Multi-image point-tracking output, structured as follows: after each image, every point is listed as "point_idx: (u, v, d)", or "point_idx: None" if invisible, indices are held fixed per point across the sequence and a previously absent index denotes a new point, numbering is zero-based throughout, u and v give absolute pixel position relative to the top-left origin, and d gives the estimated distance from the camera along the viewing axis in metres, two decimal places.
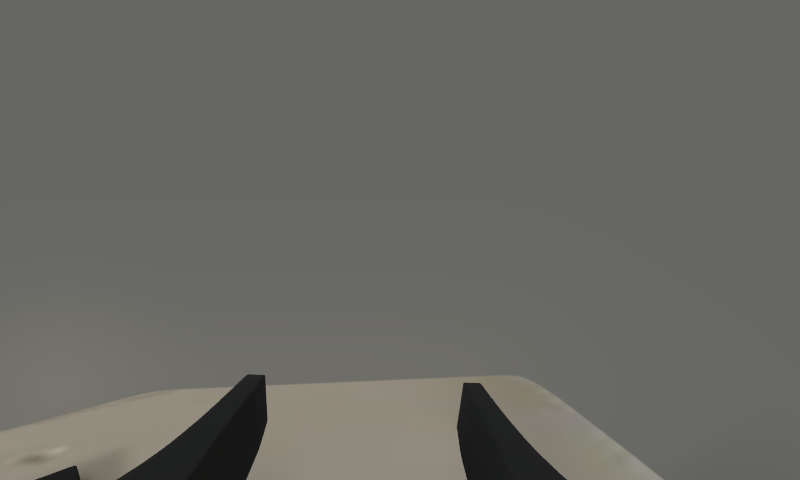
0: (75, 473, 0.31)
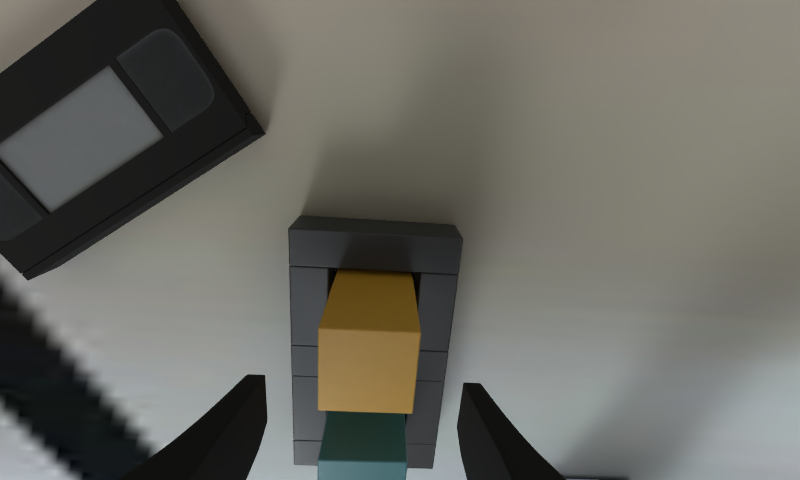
0: None
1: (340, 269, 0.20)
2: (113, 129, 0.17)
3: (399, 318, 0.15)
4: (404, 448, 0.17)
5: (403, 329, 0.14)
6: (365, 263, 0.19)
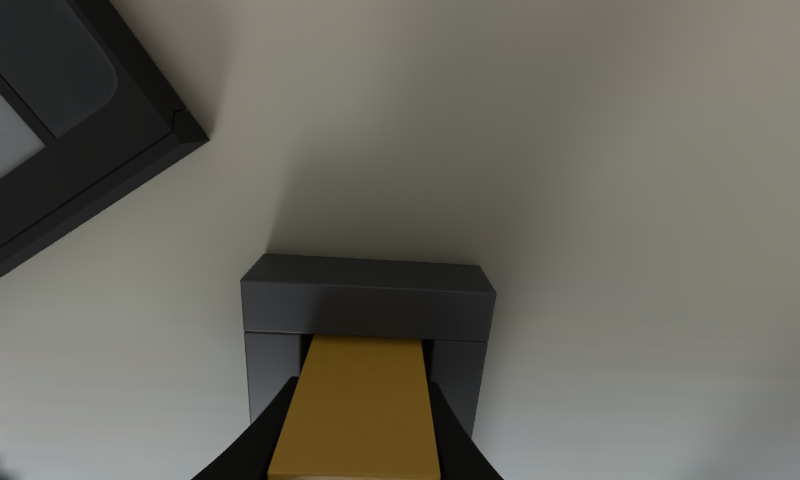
0: None
1: None
2: None
3: (404, 441, 0.09)
4: None
5: (411, 471, 0.09)
6: (354, 327, 0.13)
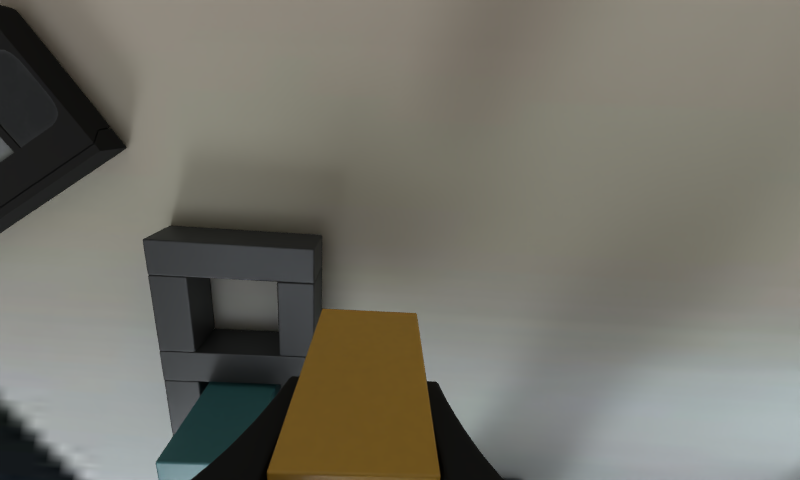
0: None
1: (317, 331, 0.14)
2: None
3: (404, 440, 0.09)
4: None
5: (410, 470, 0.09)
6: (222, 272, 0.19)
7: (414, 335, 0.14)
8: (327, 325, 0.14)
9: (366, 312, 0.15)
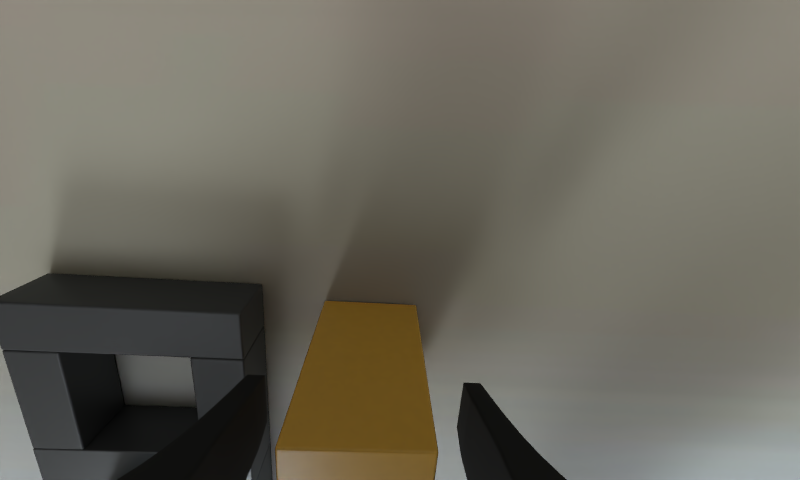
0: None
1: (321, 321, 0.14)
2: None
3: (404, 421, 0.10)
4: None
5: (410, 447, 0.09)
6: (109, 346, 0.13)
7: (413, 325, 0.14)
8: (330, 316, 0.15)
9: (367, 304, 0.16)
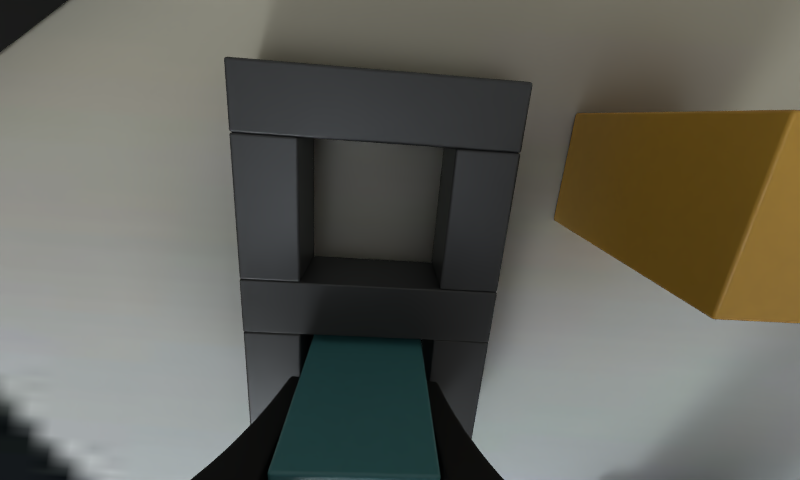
0: None
1: None
2: None
3: None
4: (433, 450, 0.09)
5: None
6: (362, 128, 0.11)
7: None
8: None
9: None
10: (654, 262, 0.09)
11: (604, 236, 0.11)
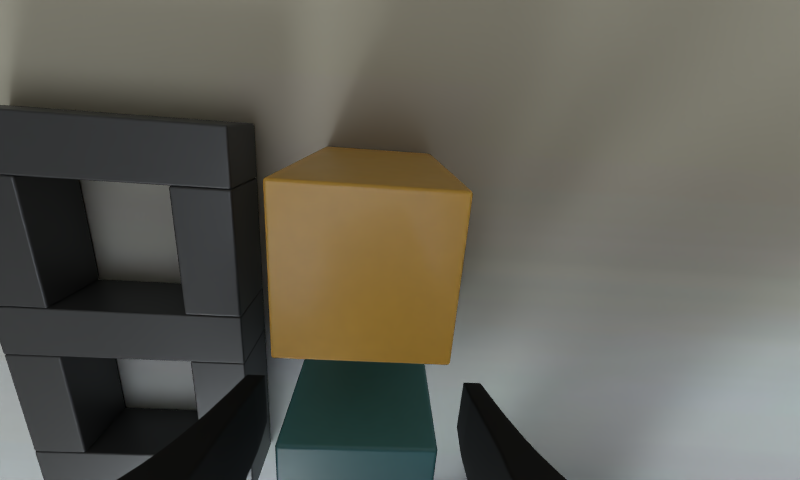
0: None
1: (321, 150, 0.12)
2: None
3: (426, 180, 0.08)
4: (430, 426, 0.10)
5: (437, 187, 0.07)
6: (72, 167, 0.11)
7: (429, 158, 0.12)
8: (332, 150, 0.13)
9: (375, 150, 0.14)
10: None
11: None
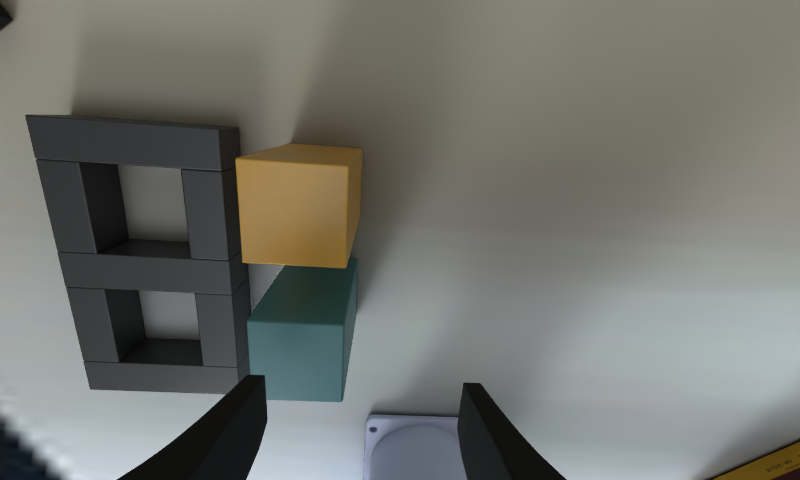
0: None
1: (283, 145, 0.18)
2: None
3: (330, 160, 0.14)
4: (343, 315, 0.16)
5: (329, 163, 0.13)
6: (117, 156, 0.17)
7: (356, 150, 0.18)
8: (290, 145, 0.19)
9: None
10: None
11: None
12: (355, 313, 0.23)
